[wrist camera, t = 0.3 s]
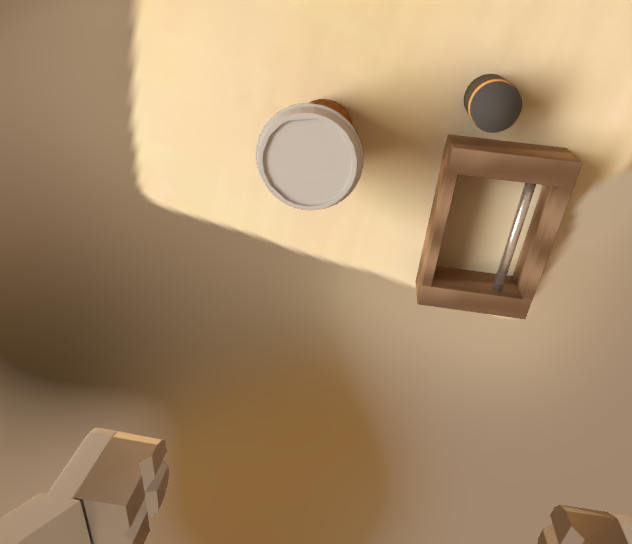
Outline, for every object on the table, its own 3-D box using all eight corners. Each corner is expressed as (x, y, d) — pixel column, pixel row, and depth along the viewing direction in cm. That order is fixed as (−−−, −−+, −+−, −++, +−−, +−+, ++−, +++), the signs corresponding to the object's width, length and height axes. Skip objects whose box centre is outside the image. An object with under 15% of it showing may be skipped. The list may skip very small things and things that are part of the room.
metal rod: (528, 166, 49) (531, 169, 48) (539, 168, 49) (541, 171, 48) (489, 293, 56) (490, 298, 55) (498, 294, 56) (499, 299, 55)
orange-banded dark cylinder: (469, 71, 48) (477, 79, 44) (516, 76, 48) (528, 84, 43) (458, 118, 50) (465, 130, 46) (503, 123, 50) (514, 135, 46)
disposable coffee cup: (383, 107, 51) (382, 137, 40) (344, 186, 55) (334, 231, 45) (299, 66, 50) (275, 86, 39) (266, 150, 54) (238, 188, 44)
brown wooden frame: (447, 134, 51) (453, 147, 47) (565, 148, 50) (582, 163, 46) (415, 281, 60) (417, 304, 56) (515, 295, 59) (525, 319, 55)
